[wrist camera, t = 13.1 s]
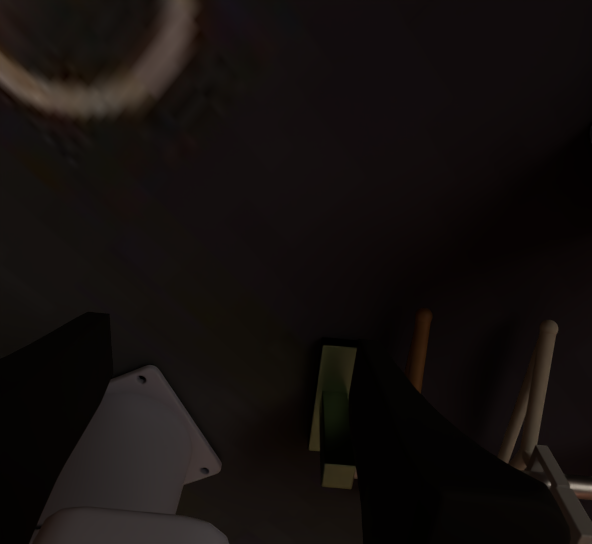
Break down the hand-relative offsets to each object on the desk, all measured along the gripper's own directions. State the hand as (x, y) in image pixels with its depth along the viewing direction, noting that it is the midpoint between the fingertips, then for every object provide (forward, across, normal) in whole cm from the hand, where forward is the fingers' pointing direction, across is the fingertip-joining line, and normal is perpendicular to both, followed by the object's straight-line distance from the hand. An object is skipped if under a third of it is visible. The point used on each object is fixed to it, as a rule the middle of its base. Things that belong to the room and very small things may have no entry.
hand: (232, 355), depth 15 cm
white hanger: (+10, -14, +9) cm, 20 cm away
